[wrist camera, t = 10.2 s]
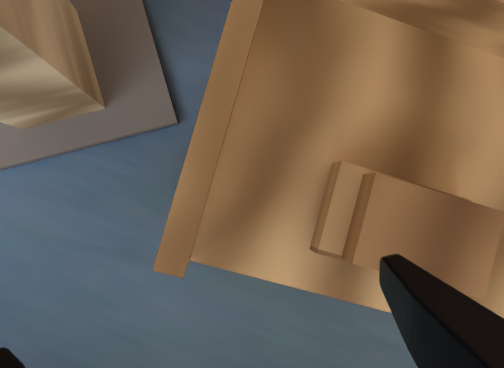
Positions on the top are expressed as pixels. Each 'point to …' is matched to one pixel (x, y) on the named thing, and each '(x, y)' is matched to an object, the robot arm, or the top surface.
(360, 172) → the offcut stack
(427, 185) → the pine rack
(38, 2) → the square wooden post
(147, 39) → the felt mat
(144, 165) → the top surface
